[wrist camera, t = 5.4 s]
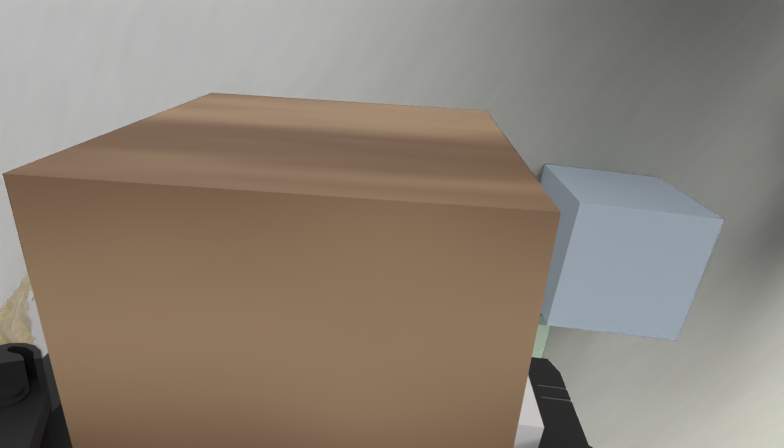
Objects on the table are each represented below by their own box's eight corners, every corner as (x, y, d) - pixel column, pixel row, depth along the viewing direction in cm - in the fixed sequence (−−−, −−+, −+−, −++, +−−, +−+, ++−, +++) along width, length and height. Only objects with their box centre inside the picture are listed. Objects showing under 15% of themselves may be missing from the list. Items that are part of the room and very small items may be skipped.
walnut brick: (211, 92, 15) (2, 173, 7) (486, 110, 14) (560, 211, 7) (237, 412, 19) (126, 659, 12) (445, 427, 19) (464, 689, 12)
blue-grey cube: (544, 163, 30) (580, 202, 24) (658, 177, 31) (724, 219, 24) (520, 265, 33) (546, 325, 27) (624, 277, 33) (676, 340, 27)
